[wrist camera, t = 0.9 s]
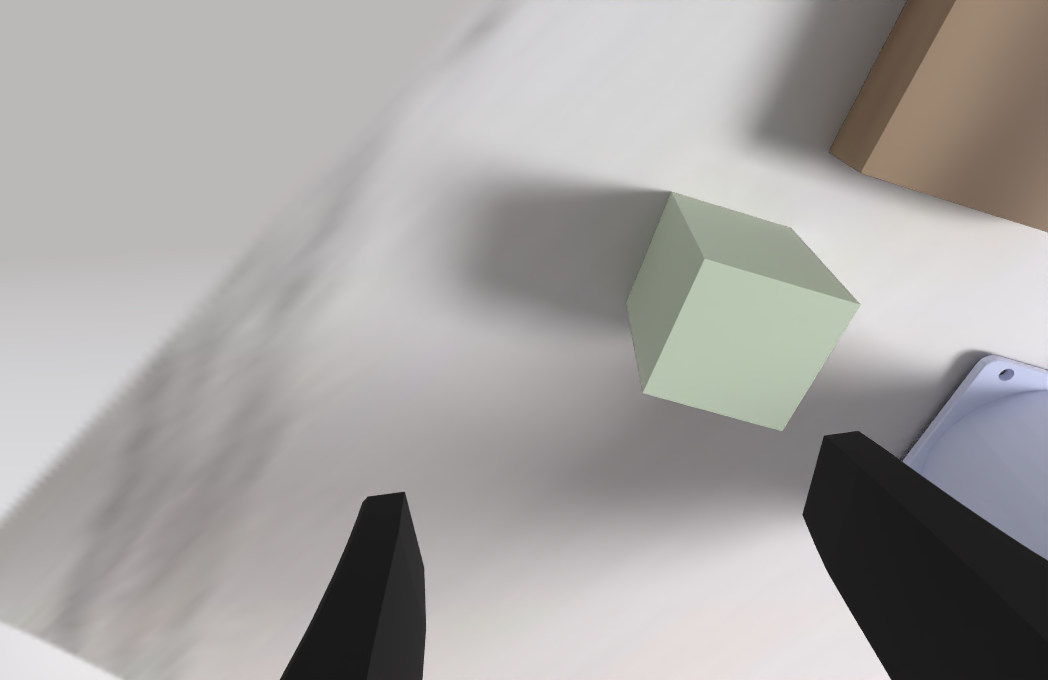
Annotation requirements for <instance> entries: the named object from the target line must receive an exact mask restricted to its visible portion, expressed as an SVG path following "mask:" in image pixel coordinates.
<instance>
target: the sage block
mask: <svg viewBox="0 0 1048 680" xmlns="http://www.w3.org/2000/svg"><path fill="white" fill-rule="evenodd" d="M626 306H627V312H628V317H629V323H630V328H631V333H632V339H633V344H634V349H635V355H636V360H637V365H638V371H639V376H640V382H641V387H642V392H643V393H644V394H647V395H651V396H655V397H658V398H662V399H666V400H669V401H673V402H677V403H680V404H684V405H687V406H691V407H695V408H698V409H702V410H706V411H709V412H713V413H717V414H720V415H724V416H728V417H731V418H735V419H739V420H742V421H746V422H750V423H753V424H757V425H761V426H764V427H768V428H772V429H775V430H779V431H783V429H784V428H785V426H786V425H787V423H788V421H789V420H790V418H791V417H792V415H793V413H794V412H795V410H796V408H797V407H798V405H799V404H800V402H801V400H802V399H803V397H804V395H805V394H806V392H807V391H808V389H809V387H810V386H811V384H812V383H813V381H814V379H815V378H816V376H817V374H818V373H819V371H820V370H821V368H822V366H823V365H824V363H825V361H826V360H827V358H828V357H829V355H830V353H831V352H832V350H833V349H834V347H835V345H836V344H837V342H838V340H839V339H840V337H841V336H842V334H843V332H844V331H845V329H846V327H847V326H848V324H849V323H850V321H851V319H852V318H853V316H854V315H855V313H856V311H857V310H858V308H859V306H860V304H859V302H858V301H857V300H856V299H855V298H854V297H853V296H852V295H851V294H850V292H849V291H848V290H847V289H846V288H845V287H844V286H843V285H842V284H841V282H840V281H839V280H838V279H837V278H836V277H835V276H834V275H833V274H832V273H831V271H830V270H829V269H828V268H827V267H826V266H825V265H824V264H823V263H822V261H821V260H820V259H819V258H818V257H817V256H816V255H815V254H814V253H813V251H812V250H811V249H810V248H809V247H808V246H807V245H806V244H805V243H804V242H803V240H802V239H801V238H800V237H799V236H798V235H797V234H796V233H795V232H794V230H793V229H792V228H790V227H786V226H783V225H780V224H776V223H773V222H770V221H767V220H763V219H760V218H757V217H753V216H750V215H747V214H744V213H740V212H737V211H734V210H730V209H727V208H724V207H721V206H717V205H714V204H711V203H707V202H704V201H701V200H698V199H694V198H691V197H688V196H684V195H681V194H678V193H675V192H671V194H670V196H669V199H668V201H667V204H666V206H665V208H664V211H663V213H662V216H661V218H660V221H659V223H658V226H657V228H656V230H655V233H654V235H653V238H652V240H651V243H650V245H649V248H648V250H647V252H646V255H645V257H644V260H643V262H642V265H641V267H640V270H639V272H638V274H637V277H636V279H635V282H634V284H633V287H632V289H631V292H630V294H629V296H628V299H627V301H626Z"/></svg>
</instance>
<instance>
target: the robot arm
mask: <svg viewBox="0 0 1048 680" xmlns="http://www.w3.org/2000/svg"><path fill="white" fill-rule="evenodd" d="M1006 369H1007V371H1006V372H1005V373H1004V374H1001V375H999V374H1000V373H1001V372H1002V371H1003V370H1006ZM803 517H804V520H805V522H806V524H807V527H808V529H809V532H810V534H811V536H812V539H813V541H814V544H815V546H816V548H817V550H818V552H819V555H820V557H821V559H822V561H823V563H824V566H825V568H826V570H827V572H828V574H829V575H830V577H831V579H832V581H833V582H834V584H835V586H836V587H837V589H838V591H839V593H840V594H841V596H842V598H843V599H844V601H845V603H846V604H847V606H848V608H849V610H850V611H851V613H852V615H853V616H854V618H855V620H856V621H857V623H858V625H859V626H860V628H861V630H862V631H863V633H864V635H865V636H866V638H867V640H868V641H869V643H870V645H871V646H872V648H873V650H874V651H875V653H876V655H877V657H878V658H879V660H880V662H881V663H882V665H883V667H884V668H885V670H886V672H887V673H888V675H889V677H890V678H891V680H1048V370H1045V369H1041V368H1038V367H1035V366H1031V365H1028V364H1024V363H1021V362H1018V361H1014V360H1011V359H1007V358H1004V357H1001V356H997V355H990V356H986V357H984V358H982V359H981V360H980V361H979V362H977V364H976V365H975V366H974V368H973V369H972V370H971V371H970V373H969V374H968V375H967V377H966V378H965V379H964V381H963V382H962V383H961V385H960V386H959V387H958V389H957V390H956V391H955V393H954V394H953V395H952V396H951V398H950V399H949V400H948V402H947V403H946V404H945V406H944V407H943V408H942V410H941V411H940V412H939V414H938V415H937V416H936V418H935V419H934V420H933V422H932V423H931V424H930V425H929V427H928V428H927V429H926V431H925V432H924V433H923V435H922V436H921V437H920V439H919V440H918V441H917V443H916V444H915V445H914V447H913V448H912V449H911V450H910V452H909V453H908V454H907V456H906V457H905V458H904V460H903V461H901V460H899V459H898V458H896V457H895V456H894V455H892V454H891V453H889V452H888V451H887V450H885V449H884V448H882V447H881V446H879V445H878V444H877V443H875V442H874V441H872V440H871V439H869V438H868V437H866V436H865V435H863V434H862V433H860V432H859V431H855V432H848V433H840V434H833V435H825V436H824V438H823V442H822V445H821V449H820V453H819V456H818V460H817V463H816V467H815V471H814V474H813V478H812V482H811V485H810V489H809V493H808V496H807V500H806V504H805V507H804V511H803ZM425 635H426V610H425V578H424V565H423V561H422V557H421V554H420V550H419V546H418V542H417V538H416V534H415V530H414V526H413V522H412V518H411V514H410V510H409V506H408V502H407V499H406V495H405V492H399V493H392V494H384V495H377V496H369V497H367V498H366V499H365V500H364V501H363V503H362V505H361V508H360V511H359V514H358V517H357V519H356V522H355V525H354V527H353V530H352V532H351V535H350V537H349V540H348V542H347V545H346V547H345V549H344V552H343V554H342V556H341V559H340V561H339V563H338V566H337V568H336V570H335V572H334V575H333V577H332V579H331V581H330V583H329V585H328V587H327V589H326V591H325V594H324V596H323V598H322V600H321V602H320V604H319V606H318V608H317V610H316V612H315V614H314V617H313V619H312V621H311V623H310V625H309V627H308V628H307V630H306V632H305V634H304V636H303V638H302V640H301V642H300V643H299V645H298V647H297V649H296V651H295V653H294V655H293V656H292V658H291V660H290V662H289V664H288V666H287V667H286V669H285V671H284V673H283V675H282V677H281V679H280V680H422V678H423V664H424V650H425Z"/></svg>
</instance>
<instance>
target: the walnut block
mask: <svg viewBox="0 0 1048 680" xmlns="http://www.w3.org/2000/svg"><path fill="white" fill-rule="evenodd" d="M829 153H831V154H832V155H834V156H835V157H837V158H838V159H840V160H841V161H843V162H844V163H846V164H847V165H849V166H850V167H852V168H853V169H855V170H857V171H858V172H860V173H862V174H865V175H868V176H871V177H874V178H877V179H881V180H884V181H887V182H890V183H893V184H896V185H900V186H903V187H906V188H909V189H912V190H915V191H919V192H922V193H925V194H928V195H931V196H934V197H938V198H941V199H944V200H947V201H950V202H954V203H957V204H960V205H963V206H966V207H969V208H973V209H976V210H979V211H982V212H985V213H988V214H992V215H995V216H998V217H1001V218H1004V219H1007V220H1011V221H1014V222H1017V223H1020V224H1023V225H1026V226H1030V227H1033V228H1036V229H1039V230H1042V231H1045V232H1048V0H907V2H906V4H905V6H904V7H903V9H902V11H901V13H900V15H899V17H898V19H897V21H896V23H895V25H894V27H893V29H892V31H891V33H890V34H889V36H888V38H887V40H886V42H885V44H884V46H883V48H882V50H881V52H880V54H879V56H878V58H877V60H876V61H875V63H874V65H873V67H872V69H871V71H870V73H869V75H868V77H867V79H866V81H865V83H864V85H863V86H862V88H861V90H860V92H859V94H858V96H857V98H856V100H855V102H854V104H853V106H852V108H851V110H850V112H849V113H848V115H847V117H846V119H845V121H844V123H843V125H842V127H841V129H840V131H839V133H838V135H837V137H836V139H835V140H834V142H833V144H832V146H831V148H830V150H829Z"/></svg>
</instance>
